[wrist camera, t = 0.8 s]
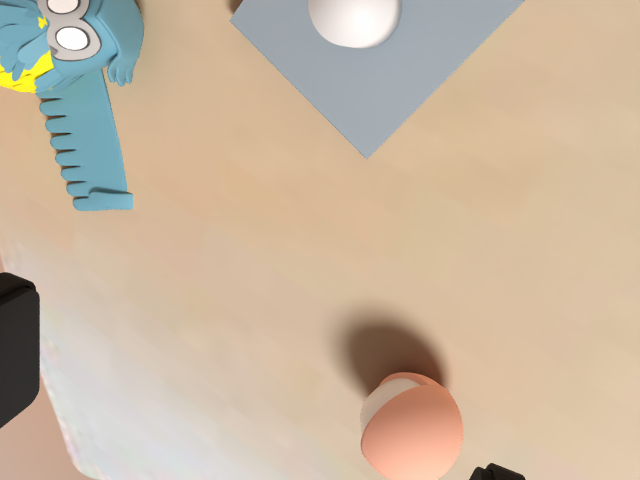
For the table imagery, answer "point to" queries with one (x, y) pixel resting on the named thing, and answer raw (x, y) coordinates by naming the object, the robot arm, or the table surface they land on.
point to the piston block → (368, 53)
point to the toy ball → (410, 428)
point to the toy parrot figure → (75, 83)
